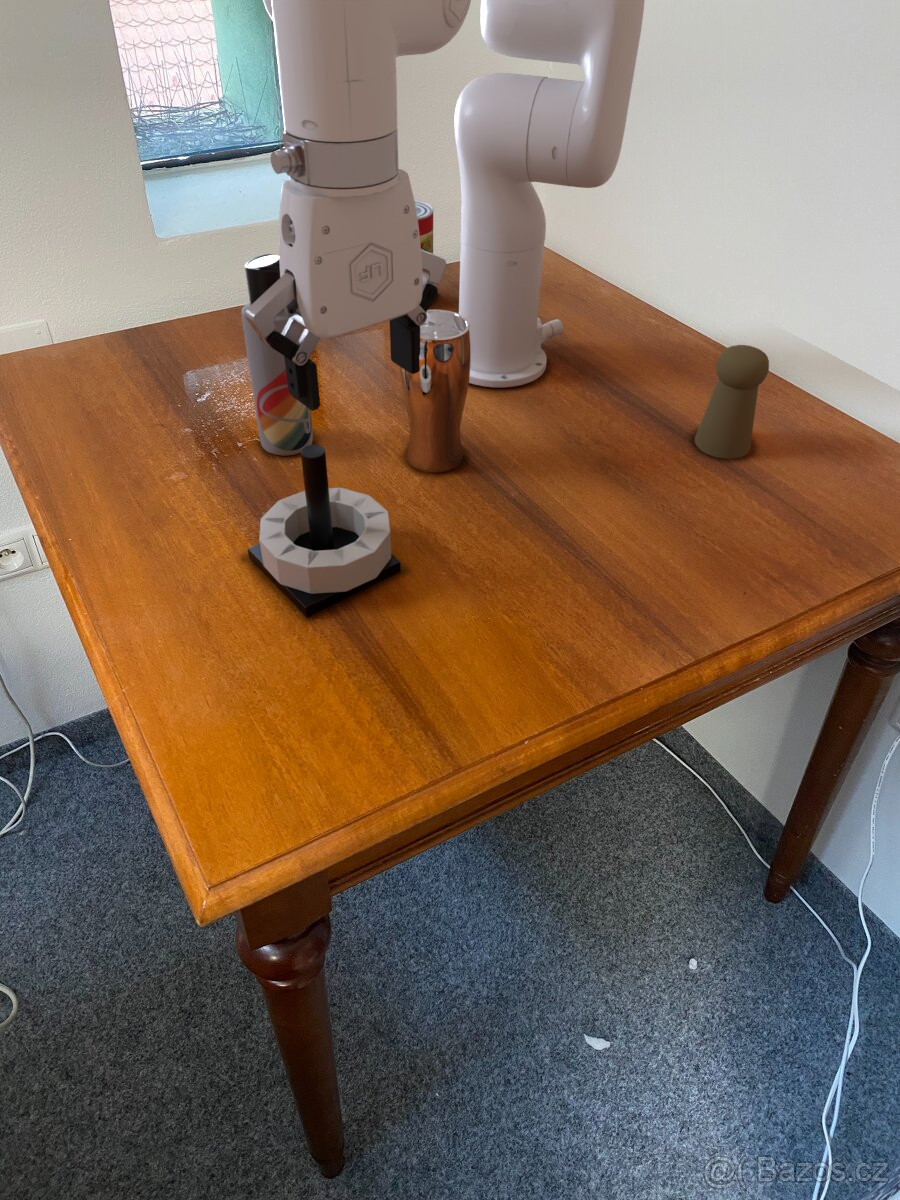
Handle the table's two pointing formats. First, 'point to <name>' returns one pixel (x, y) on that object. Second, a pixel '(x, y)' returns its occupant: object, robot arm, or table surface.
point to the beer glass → (438, 392)
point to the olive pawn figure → (733, 403)
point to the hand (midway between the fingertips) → (357, 384)
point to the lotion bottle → (272, 373)
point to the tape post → (320, 536)
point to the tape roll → (326, 566)
